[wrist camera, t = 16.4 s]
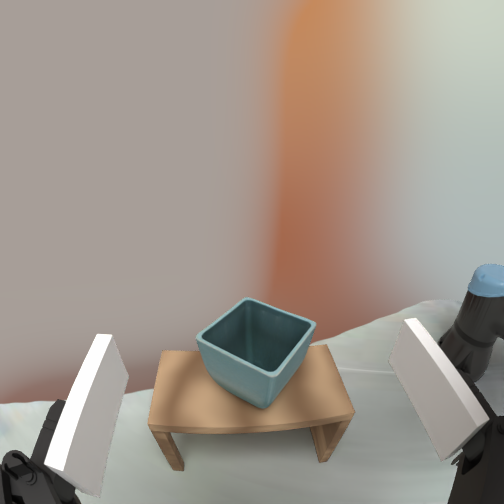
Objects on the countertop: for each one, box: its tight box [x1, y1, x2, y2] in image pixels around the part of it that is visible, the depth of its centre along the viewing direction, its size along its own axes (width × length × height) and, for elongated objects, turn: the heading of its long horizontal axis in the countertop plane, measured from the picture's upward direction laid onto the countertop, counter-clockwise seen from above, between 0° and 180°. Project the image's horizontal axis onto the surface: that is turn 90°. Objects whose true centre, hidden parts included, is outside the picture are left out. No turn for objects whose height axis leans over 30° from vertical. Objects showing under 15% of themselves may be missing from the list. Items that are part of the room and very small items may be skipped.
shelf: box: [148, 344, 355, 471], centre depth 33 cm, size 22×12×14 cm, turn 95°
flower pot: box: [196, 297, 316, 409], centre depth 28 cm, size 9×9×9 cm
